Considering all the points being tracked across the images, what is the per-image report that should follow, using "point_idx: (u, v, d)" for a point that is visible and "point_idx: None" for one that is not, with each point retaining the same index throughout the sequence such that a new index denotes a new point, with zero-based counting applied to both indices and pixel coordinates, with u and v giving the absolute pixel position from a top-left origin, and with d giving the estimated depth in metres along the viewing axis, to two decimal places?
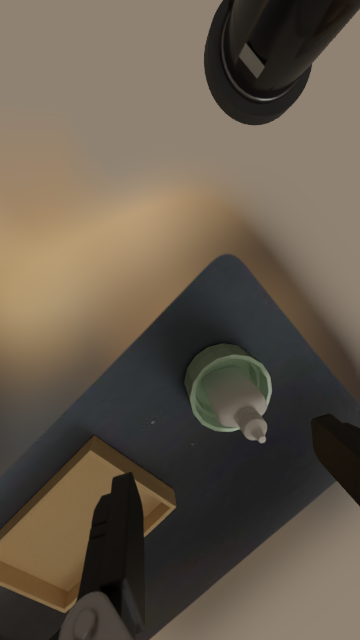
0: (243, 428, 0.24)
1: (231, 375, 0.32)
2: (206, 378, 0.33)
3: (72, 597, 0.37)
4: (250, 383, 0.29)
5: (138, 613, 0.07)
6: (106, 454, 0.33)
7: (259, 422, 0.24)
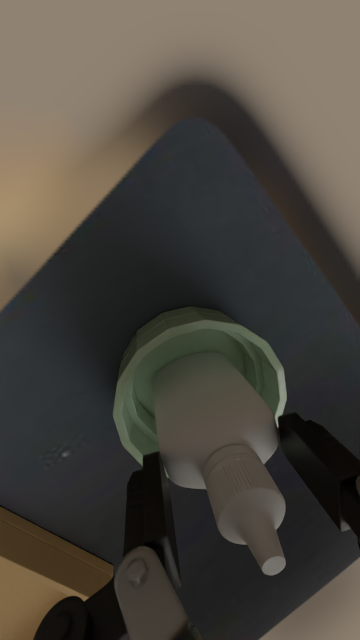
0: (216, 513, 0.08)
1: (204, 367, 0.16)
2: (159, 373, 0.17)
3: None
4: (242, 383, 0.14)
5: (176, 569, 0.08)
6: None
7: (263, 498, 0.08)
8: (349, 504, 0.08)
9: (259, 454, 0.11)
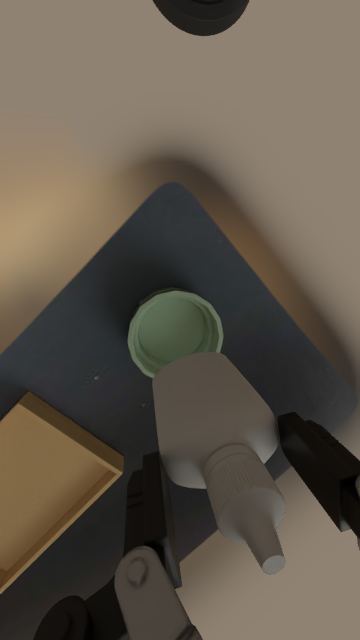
0: (217, 513, 0.08)
1: (204, 366, 0.16)
2: (159, 373, 0.17)
3: (9, 576, 0.33)
4: (242, 383, 0.14)
5: (177, 569, 0.08)
6: (40, 410, 0.29)
7: (263, 497, 0.08)
8: (349, 504, 0.08)
9: (259, 454, 0.11)
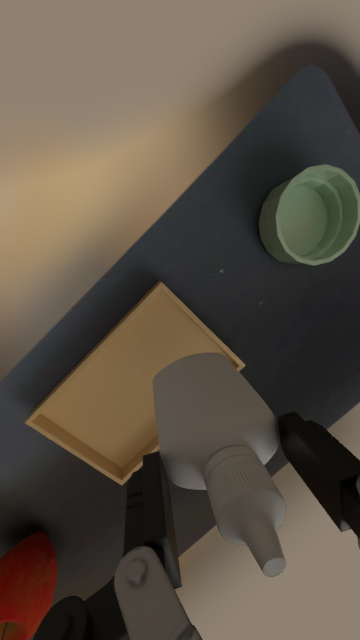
0: (217, 514, 0.08)
1: (204, 367, 0.16)
2: (160, 374, 0.17)
3: (129, 469, 0.34)
4: (242, 383, 0.14)
5: (176, 570, 0.08)
6: None
7: (264, 499, 0.08)
8: (349, 504, 0.08)
9: (259, 455, 0.11)
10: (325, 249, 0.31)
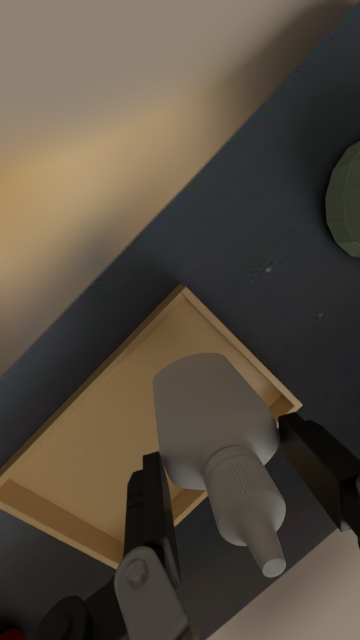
0: (217, 515, 0.08)
1: (204, 367, 0.16)
2: (159, 374, 0.17)
3: None
4: (242, 384, 0.14)
5: (176, 569, 0.08)
6: None
7: (263, 500, 0.08)
8: (349, 504, 0.08)
9: (259, 455, 0.11)
10: None
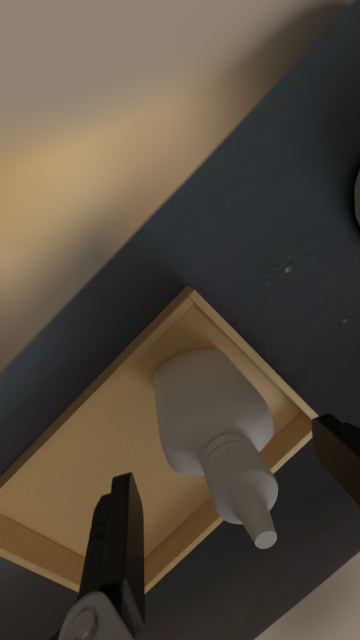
0: (213, 494, 0.09)
1: (202, 362, 0.16)
2: (160, 369, 0.18)
3: None
4: (239, 376, 0.14)
5: (138, 613, 0.07)
6: None
7: (257, 480, 0.09)
8: None
9: (254, 442, 0.11)
10: None
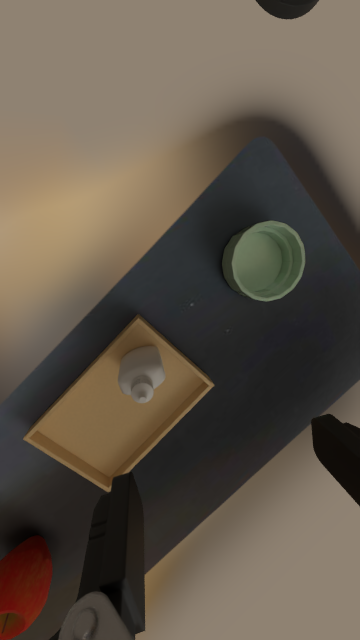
0: (131, 392, 0.27)
1: (143, 351, 0.34)
2: (124, 356, 0.36)
3: None
4: (155, 357, 0.32)
5: (138, 613, 0.07)
6: (151, 327, 0.35)
7: (144, 386, 0.27)
8: None
9: (153, 380, 0.29)
10: (278, 286, 0.36)
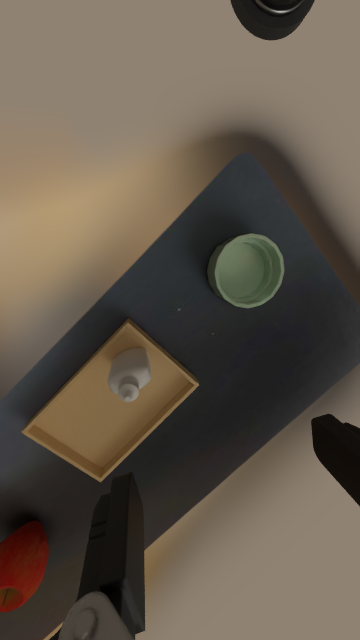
0: (118, 391, 0.29)
1: (132, 353, 0.37)
2: (115, 357, 0.38)
3: (107, 469, 0.42)
4: (143, 359, 0.35)
5: (138, 613, 0.07)
6: (140, 331, 0.38)
7: (130, 386, 0.29)
8: None
9: (139, 381, 0.32)
10: (260, 293, 0.39)
